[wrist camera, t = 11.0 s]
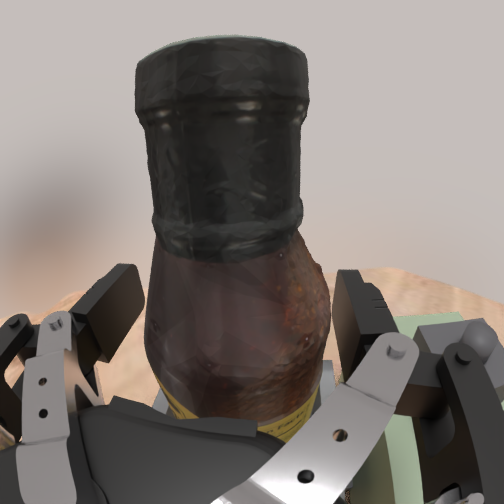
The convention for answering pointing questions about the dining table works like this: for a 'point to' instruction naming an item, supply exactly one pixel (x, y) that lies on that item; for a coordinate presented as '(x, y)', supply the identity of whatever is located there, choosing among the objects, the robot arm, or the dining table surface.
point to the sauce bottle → (231, 232)
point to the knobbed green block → (401, 427)
